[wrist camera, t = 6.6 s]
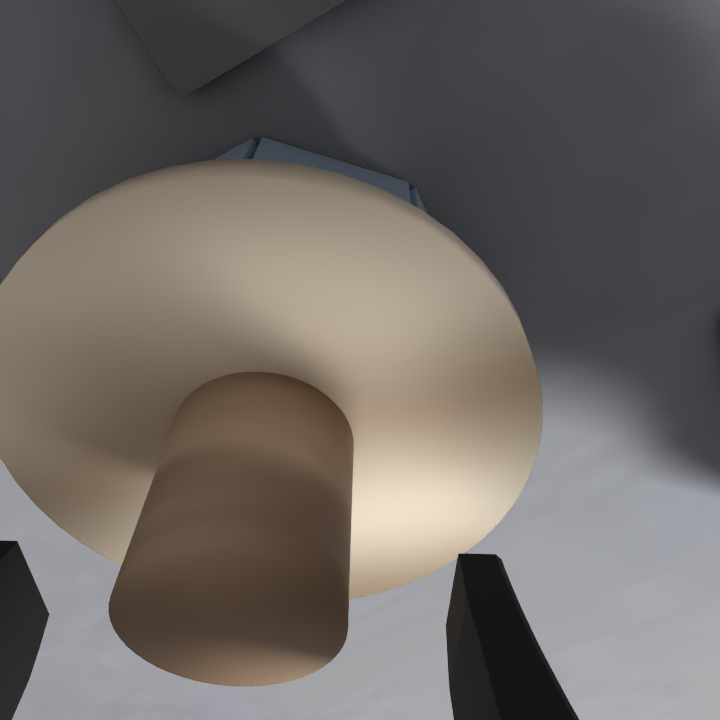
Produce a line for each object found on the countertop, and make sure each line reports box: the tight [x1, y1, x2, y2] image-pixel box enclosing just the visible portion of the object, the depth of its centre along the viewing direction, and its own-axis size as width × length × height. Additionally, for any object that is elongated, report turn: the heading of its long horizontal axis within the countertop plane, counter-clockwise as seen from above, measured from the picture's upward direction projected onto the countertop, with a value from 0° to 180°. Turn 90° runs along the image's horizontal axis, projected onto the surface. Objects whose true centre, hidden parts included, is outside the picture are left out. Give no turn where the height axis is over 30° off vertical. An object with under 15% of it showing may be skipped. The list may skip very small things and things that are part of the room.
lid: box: [0, 159, 542, 686], centre depth 12 cm, size 11×11×5 cm
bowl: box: [213, 137, 429, 215], centre depth 16 cm, size 9×9×4 cm
